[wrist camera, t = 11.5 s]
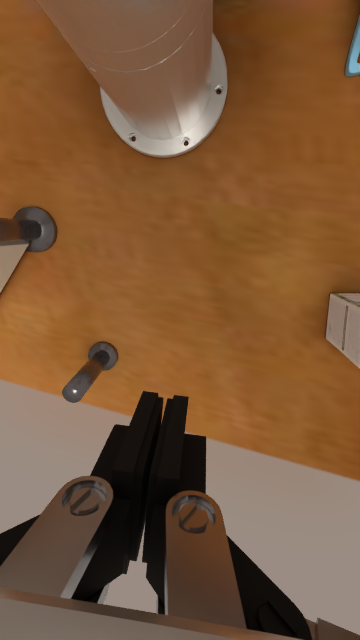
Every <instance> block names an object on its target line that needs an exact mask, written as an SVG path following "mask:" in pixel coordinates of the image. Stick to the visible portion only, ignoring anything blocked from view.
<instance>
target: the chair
mask: <svg viewBox="0 0 360 640" xmlns="http://www.w3.org/2000/svg"><path fill="white" fill-rule="evenodd" d="M359 52H360V15H359V19H358V22H357V25H356V29H355V32H354V36H353V39H352V43H351V46H350V50H349V54H348V58H347V62H346V67H345V75H346V76H347V77H351V76H356V75H360V63H357V59H358V56H359Z"/></svg>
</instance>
